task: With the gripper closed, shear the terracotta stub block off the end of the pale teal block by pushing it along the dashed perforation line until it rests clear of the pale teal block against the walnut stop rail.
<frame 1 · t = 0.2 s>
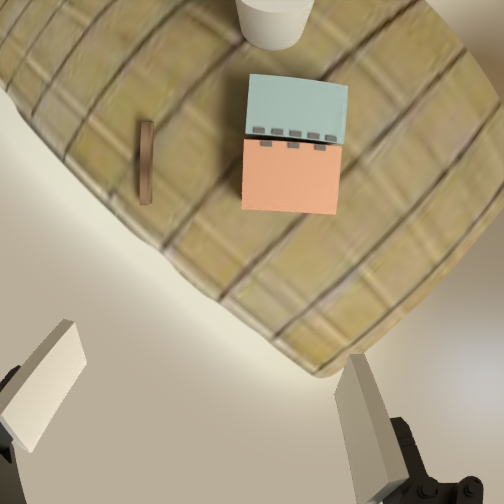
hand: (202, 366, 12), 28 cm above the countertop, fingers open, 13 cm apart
stub: (288, 173, 37), on the countertop
cup: (271, 25, 29), on the countertop
stop rail: (149, 162, 36), on the countertop
pale teal block: (293, 112, 33), on the countertop
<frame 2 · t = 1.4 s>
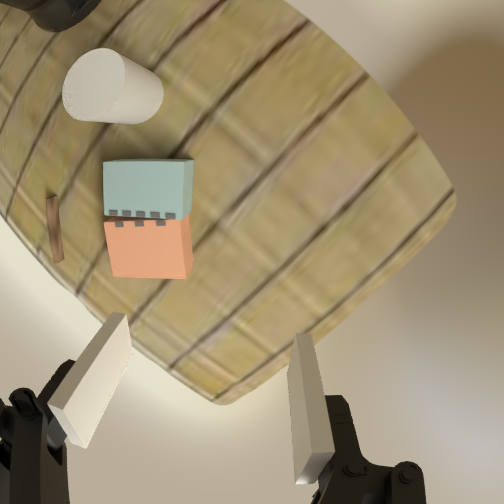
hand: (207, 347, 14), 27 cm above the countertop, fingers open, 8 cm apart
stub: (155, 238, 41), on the countertop
cup: (137, 96, 34), on the countertop
stop rail: (58, 228, 41), on the countertop
pale teal block: (154, 183, 38), on the countertop
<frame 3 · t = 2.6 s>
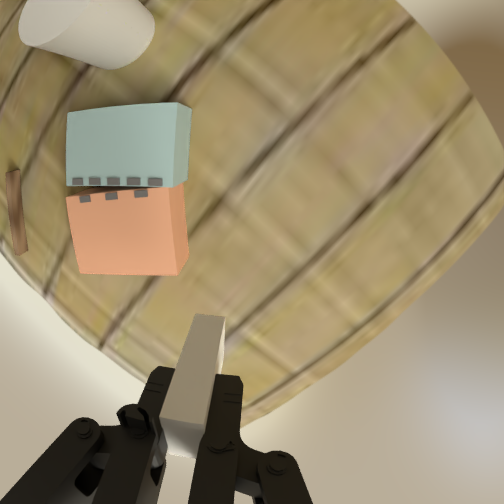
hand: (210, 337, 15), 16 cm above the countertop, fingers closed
stub: (137, 220, 29), on the countertop
cup: (120, 36, 22), on the countertop
stop rail: (20, 210, 29), on the countertop
pale teal block: (137, 144, 26), on the countertop
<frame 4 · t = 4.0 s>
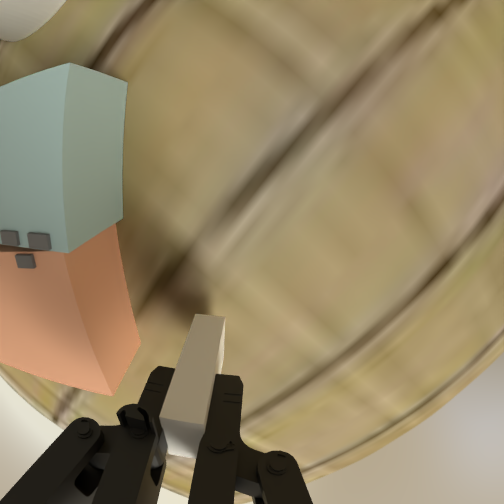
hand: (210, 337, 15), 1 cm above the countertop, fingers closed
stub: (59, 281, 16), on the countertop
pale teal block: (44, 155, 13), on the countertop
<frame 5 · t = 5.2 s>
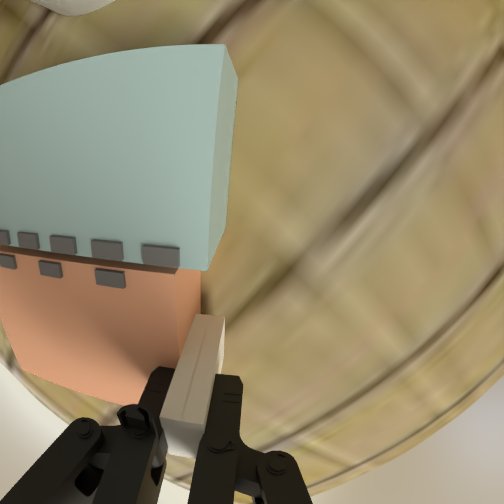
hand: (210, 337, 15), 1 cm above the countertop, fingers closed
stub: (111, 289, 16), on the countertop, touching gripper
pale teal block: (120, 150, 13), on the countertop
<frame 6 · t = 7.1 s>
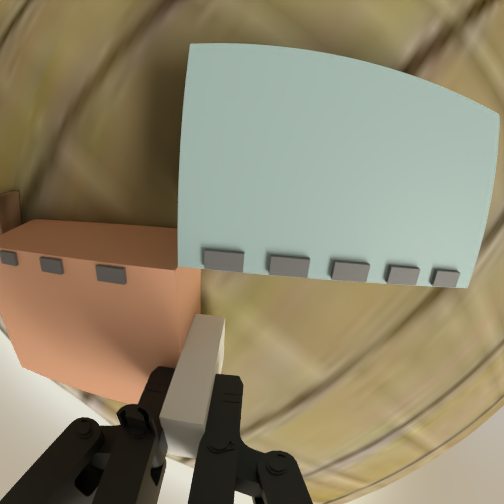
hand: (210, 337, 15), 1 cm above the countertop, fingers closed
stub: (112, 287, 16), on the countertop
stop rail: (25, 270, 15), on the countertop
pale teal block: (330, 162, 13), on the countertop
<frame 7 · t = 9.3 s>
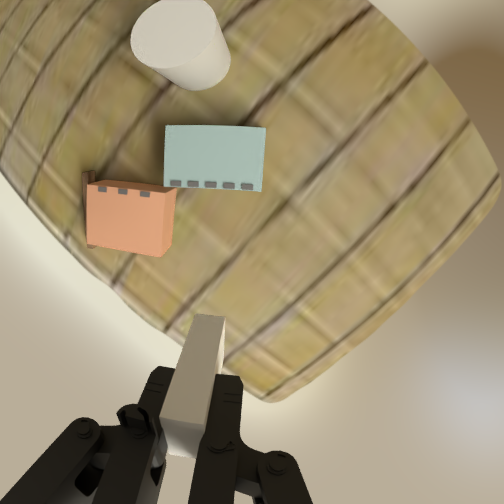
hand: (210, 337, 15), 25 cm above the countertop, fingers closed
stub: (137, 211, 38), on the countertop
cup: (199, 62, 31), on the countertop
stop rail: (93, 208, 38), on the countertop
pale teal block: (219, 155, 35), on the countertop
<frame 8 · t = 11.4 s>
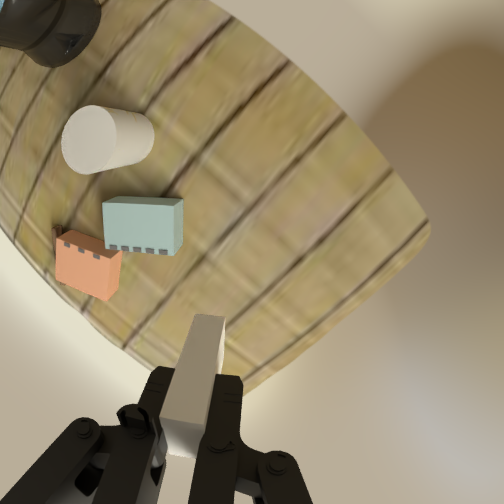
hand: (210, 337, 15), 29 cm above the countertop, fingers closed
stub: (94, 258, 46), on the countertop
cup: (130, 138, 39), on the countertop
stop rail: (63, 253, 46), on the countertop
pale teal block: (149, 219, 43), on the countertop
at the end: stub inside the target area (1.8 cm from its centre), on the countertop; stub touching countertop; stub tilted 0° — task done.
